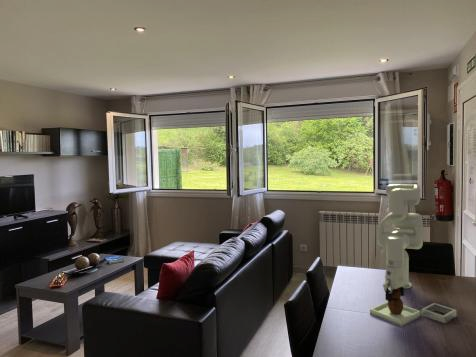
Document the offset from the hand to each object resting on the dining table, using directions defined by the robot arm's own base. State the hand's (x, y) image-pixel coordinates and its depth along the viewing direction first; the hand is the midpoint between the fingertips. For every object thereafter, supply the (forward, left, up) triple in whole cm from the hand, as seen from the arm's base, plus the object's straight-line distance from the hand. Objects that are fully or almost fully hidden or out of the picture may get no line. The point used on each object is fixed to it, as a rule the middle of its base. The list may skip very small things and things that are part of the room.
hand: (394, 298), depth 172 cm
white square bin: (+13, +15, -8) cm, 22 cm away
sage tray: (0, 0, -8) cm, 8 cm away
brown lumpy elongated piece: (0, 0, -7) cm, 8 cm away
